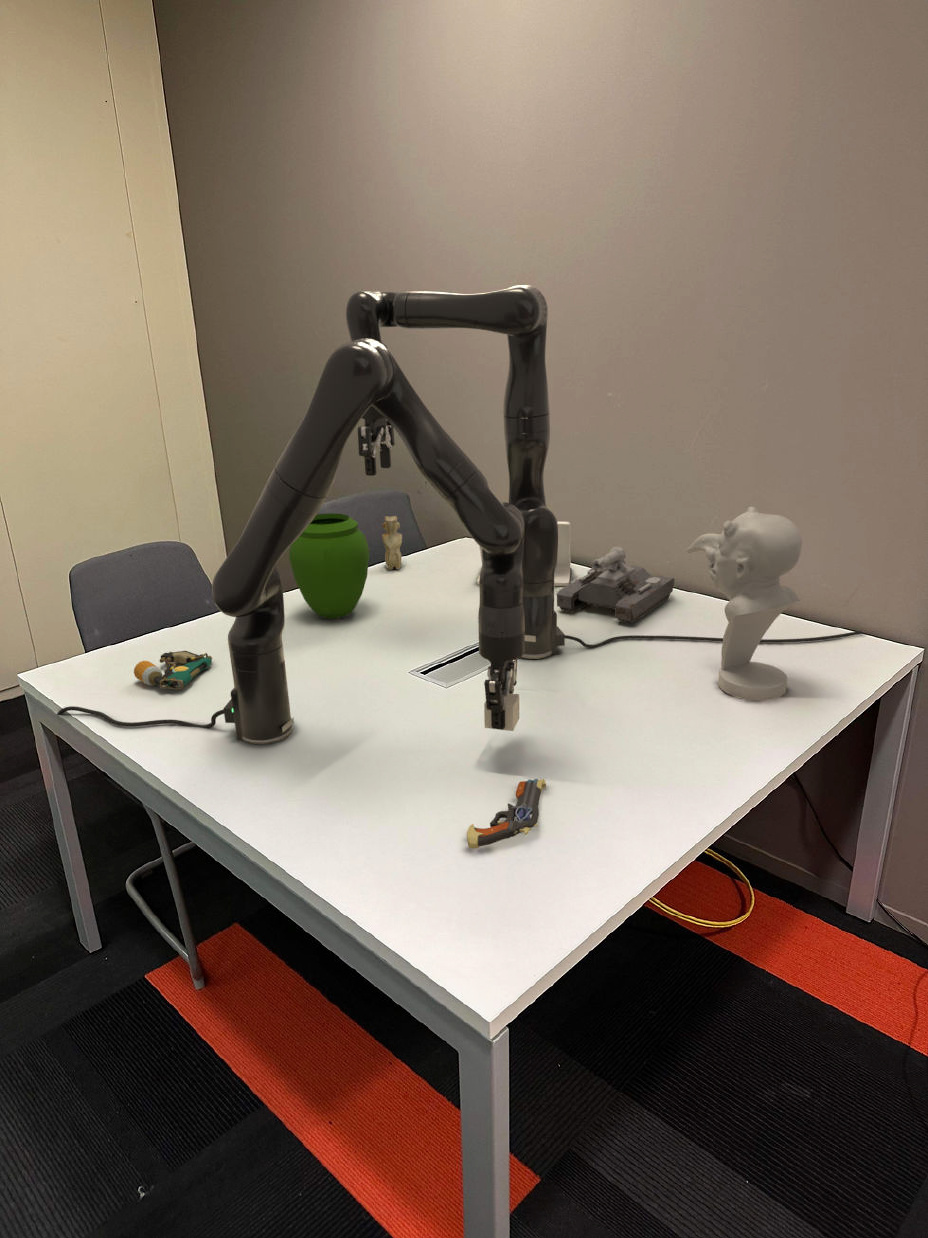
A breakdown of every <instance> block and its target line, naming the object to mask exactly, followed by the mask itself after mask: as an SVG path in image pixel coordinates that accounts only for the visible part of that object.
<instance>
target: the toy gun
mask: <svg viewBox="0 0 928 1238" xmlns="http://www.w3.org/2000/svg"><path fill="white" fill-rule="evenodd" d="M544 788H545V789H546V788H547V781H546V779H544V778H541V779H539V778H533V779H531V778H529V779H527V780H523V781H522V780H521V781H519V782H518V783H517V787H516V789H515V798H516V800H517V802H516V804H515V805H513V804H512V803H507V810H501V811H497V812H496V813H495V816H494V818H493V819H492V820H491V821H490V822H489V827H485V828H479V827H475V825H474V824H473V823H472V824H469V827H468V828H467V830H466V841H467V847H468V849H471V850H472V849H474V850H475V849H478V848H481V847H484V846H489V845H492V844H495V843H498V842H500V841H503V840H506V839H511V838H513V837H516V836H518V835H520V834H522V833H523V834H524V835H525V836H528V834H529V832H530V831H532V828H534V827H538V821H539V817H540V809H539V803H540V800H541V794H542V791H543V789H544ZM500 819H505V820H504V821H500Z"/></svg>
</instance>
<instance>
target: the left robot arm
mask: <svg viewBox="0 0 928 1238" xmlns="http://www.w3.org/2000/svg"><path fill="white" fill-rule="evenodd" d="M387 348H388V347H387ZM387 348H386V347H385V346H384V345H383V344H381V343H380V342H378V341H376V340H373V339H368V338H361V339H357V340H354V341H351V340H350V341H349V342H346V343H343V344H341V345H339V346H338V347H336V348H335V349H334V350H333V351H332V352H331V353H330V354H329V356H328V358H327V360H326V361H325V364H324V366H323V368H322V371H321V374H320V376H319V378H318V382H317V384H316V386H315V390H314V392H313V394H312V397H311V400H310V402H309V406H308V408H307V409H306V412H305V414H304V416H303V418H302V420H301V422H300V423H299V425H298V426H297V428H296V430H295V431H294V432H293V434H292V436H291V437H290V439H289V441H288V442H287V445H285V448H284V449H283V451H282V454H281V455H280V456H279V458H278V460H277V462H276V464H275V466H274V468H273V469H272V471H271V473H270V475H269V478H268V479H267V481H266V483H265V486H264V487H263V490H262V492H261V494H260V496H259V498H258V500H257V502H256V504H255V506H254V508H253V510H252V512H251V514H250V516H249V518H248V521H247V523H246V525H245V527H244V528H243V530H242V533H241V535H240V537H239V538H238V540H237V542H236V544H235V545H234V546H233V547H232V549H231V551H230V552H229V553H228V555H227V556H226V558H225V560H223V562H222V563H221V565H220V566H219V568H218V569H217V571H216V572H215V574H214V577H213V579H212V583H211V595H212V599H213V603H215V604H214V605H215V606H216V607H217V609H218V610H219V612H221V613H222V614H224V615H226V616H227V617H231V618H235V619H234V621H233V624H232V626H231V627H230V629H229V631H228V634H227V645H228V650H229V658H230V665H231V672H232V679H233V688H232V689H231V691H230V700H229V701H228V702H227V703H226V705H225V706H224V707H223V709H220V710H217V711H216V712H215V713H213V714H212V715H211V718H210V723H207V724H197V723H193V722H188V721H185V720H180V719H155V720H147V721H146V720H145V721H136V722H135V721H134V722H128V721H127V722H126V721H121V720H120V721H119V720H116V719H114V718H112V717H110V716H109V715H107V714H106V713H104V712H101V711H98V710H94V709H89V708H85V707H82V706H72V705H69V706H66V707H62V708H61V709H59V710H58V712H57V713H56V715H57V716H61V715H63V714H65V713H66V712H69V711H74V712H81V713H86V714H89V715H94V716H97V717H100V718H102V719H104V720H105V721H107V722H108V723H110V724H112V725H114V726H118V727H125V728H127V727H129V728H130V727H131V728H132V727H146V726H155V725H179V726H184V727H191V728H200V729H212V728H213V727H215V725H216V723H217V722H216V721H217V718H218V717H219V716H221V715H223V716H224V722H225V724H234V728H235V735H236V740H237V741H238V740H239V741H243V742H245V743H247V744H251V745H268V744H274V743H277V742H280V741H283V740H284V739H286V738H288V737H289V736H290V735H292V733H293V730H294V727H293V725H294V724H295V720H294V717H292V715H291V705H290V704H291V703H290V696H289V688H288V687H289V686H288V679H287V668H286V660H285V651H284V644H283V642H284V641H283V632H284V629H285V624H286V623H285V622H286V621H285V620H286V617H285V616H286V615H285V603H284V601H285V600H284V588H283V587H284V585H283V581H282V577H281V573H280V571H279V568H278V567H277V564H278V562H279V561H280V559H281V558H282V556H284V554H285V553H286V552H287V551H288V550H289V549H290V546H291V545H292V544H293V543H294V542H295V541H296V539H297V538H298V537H299V536H300V535H301V534H302V533H303V531H304V530H305V529H306V528H307V527H308V525H309V524H310V523H311V522H312V520H313V519H314V518H315V516H316V515H318V514H319V511H320V510H321V508H322V506H323V505H324V502H325V500H326V499H327V498H328V496H329V493H330V492H331V490H332V488H333V485H334V484H335V480H336V478H337V474H338V471H339V469H340V464H341V461H342V460H341V459H342V456H343V452H344V449H345V446H346V444H347V442H348V440H349V439H350V436H351V435H352V433H353V432H354V430H355V428H356V427H358V424H359V422H360V421H361V418H362V417H363V415H364V414H365V413H366V411H367V410H368V409H369V407H370V406H373V407H374V408H375V409H376V410H377V411H378V412H380V413H381V414H382V415H383V416H384V417H385V418H386V419H387V420H388V422H389V423H390V424H391V425H392V426H393V430H395V432H396V433H397V435H398V436H399V438H400V439H401V440H402V442H403V444H404V446H405V447H406V450H407V451H408V453H409V455H410V457H411V458H412V460H413V462H414V464H415V465H416V467H417V468H418V470H419V471H420V473H421V474H422V476H423V477H424V478H425V480H426V481H428V483H429V484H430V485H431V486H432V487H433V489H434V490H435V491H436V492H437V494H439V496H440V497H441V498H442V499H443V500H444V502H446V503H447V504H448V505H449V506H450V507H451V508H452V509H453V510H454V512H455V513H456V515H457V517H458V518H459V520H460V522H461V524H462V525H463V526H464V528H465V529H466V531H467V532H468V534H469V535H470V536H471V538H472V539H473V540H474V542H475V543H476V544H477V545H478V546H479V548H480V547H481V548H482V560H481V568H480V573H479V575H480V580H479V584H478V587H479V605H478V616H477V618H478V619H477V620H478V621H477V622H478V624H477V625H478V654H479V655H480V656H481V657H482V658H483V659H484V660H487V661H488V662H490V665H489V666H488V667H487V673H486V675H487V678H488V679H485V680H484V682H483V684H484V691H485V692H484V694H485V702H486V705H487V706H486V707H487V710H491V726H492V728H493V729H492V730H499V729H501V730H500V731H503V730H502V729H504V727H505V708H506V696H507V695H509V693H512V694H514V693H515V686H517V682H518V681H517V675H518V660H519V659H520V658H521V657H522V656H523V654H524V652H525V613H524V605H523V574H522V560H523V548H524V530H525V525H524V519H523V516H522V514H521V512H520V511H519V510H518V509H517V508H516V507H515V506H514V505H512V504H510V503H509V502H506V501H504V502H503V501H500V500H499V499H498V498H497V496H496V494H494V493H493V491H491V489H490V487H489V483H488V480H487V478H486V477H485V475H484V474H483V473H482V471H481V470H480V469H479V468H478V467H477V465H476V464H475V463H474V462H473V460H472V459H470V458H469V456H468V455H467V453H465V452H464V450H462V448H461V447H459V445H458V444H457V443H456V442H455V441H454V439H453V438H452V437H451V436H450V434H448V433H447V431H446V430H445V429H444V428H443V427H442V425H441V424H440V422H439V421H438V420H437V419H436V417H435V416H434V415H433V413H432V412H431V411H430V409H428V407H427V406H426V404H425V403H424V402H423V400H422V399H421V397H420V396H419V394H418V393H417V392H416V390H415V389H414V387H413V386H412V384H411V382H410V381H409V379H408V378H407V377H406V374H405V373H404V371H403V370H402V368H401V366H400V365H399V364H398V362H397V360H396V358H395V357H394V356H393V354H392V353H391V351H390V350H389V349H387ZM362 419H363V418H362ZM494 700H496V701H498V702H494Z"/></svg>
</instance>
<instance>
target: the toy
mask: <svg viewBox="0 0 928 1238" xmlns="http://www.w3.org/2000/svg"><path fill="white" fill-rule="evenodd" d="M626 557H627V556H626V551H625V549H624V548H622V547H621V546H614V547H612V548H611V549H610V550H609V552H608V553H607V554H605V555H604V556H601V557H599V558H598V559H597V557H596V558H594V559H593V560H592V561H590V562H589V563H590V564H591V565H592V567H591V568H590V569H589V570H587V573H586V575H584V576H582V577H580V578H578V579H577V580H575V581H573V582H570V583H569V585H567V586H563V587H562V588H560V589H559V590H558V591H557V592H556V607H558V608H559V609H560V610H562V611H566V612H572V613H575V612H577V611H579V610H581V609H582V608H585V607H586V606H588V605H592V606H598V607H602V608H603V607H604V608H609V609H613V610H614V618H615V619H617V620H618V621H621V622H626V623H631V624H634V623H635V622H637V621H638V620H640V619H641V618H642V617H644V616H645V615H647V614H648V613H650V612H651V611H652V610H654V609H655V608H657V607H659V606H660V605H661V604H663V603H664V602H666V601H667V600H669V598H670V596H671V594H672V593H673V591H674V585H675V580H676V579H675V578H673V577H668V576H663V575H656V576H655V577H654V576H651V574H650V573H649V572H648V571H647V570H646V568H644V567H641V566H635V565H629V564H628V563H627V562H626V561H625V559H626Z"/></svg>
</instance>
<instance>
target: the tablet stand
mask: <svg viewBox="0 0 928 1238" xmlns="http://www.w3.org/2000/svg"><path fill="white" fill-rule="evenodd" d="M557 523H558V555H557V565H556V568H555V572H554V587H556V586H557V587H566V586H567V585H569V584H570V580H571V579H570V578H571V565H572V564H571V560H572V558H571V522H569V521H557ZM479 551H480V557H481V558H480V559H481V561H482V548H481V547H480V546H479ZM479 580H480V574H479V575H478V577H477V580H476V581H477V582H476V584H478V585H479Z"/></svg>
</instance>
